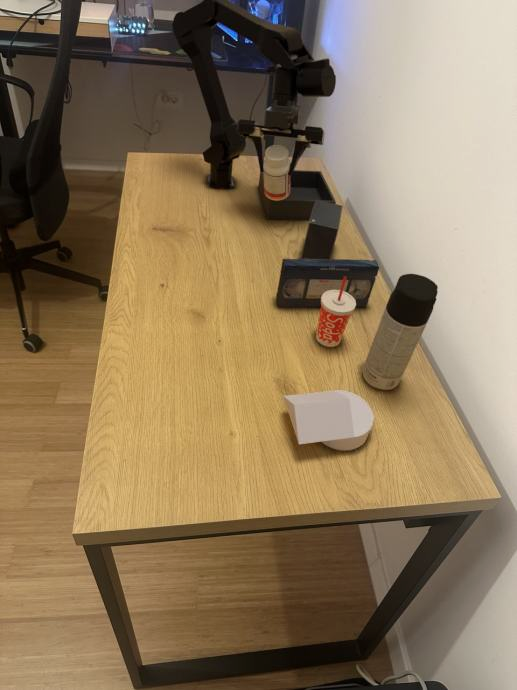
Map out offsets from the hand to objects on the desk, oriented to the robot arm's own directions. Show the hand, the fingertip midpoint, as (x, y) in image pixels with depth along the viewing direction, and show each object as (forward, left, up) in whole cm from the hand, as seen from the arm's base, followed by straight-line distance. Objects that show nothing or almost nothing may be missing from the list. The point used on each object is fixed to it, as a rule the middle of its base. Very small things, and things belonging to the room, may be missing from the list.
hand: (275, 173), depth 111 cm
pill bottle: (-3, +2, -6) cm, 7 cm away
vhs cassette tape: (+30, +6, -13) cm, 33 cm away
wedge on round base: (+60, 0, -13) cm, 61 cm away
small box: (+13, +9, -13) cm, 20 cm away
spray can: (+50, +12, -13) cm, 53 cm away
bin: (-10, +8, -13) cm, 18 cm away
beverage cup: (+40, +5, -13) cm, 42 cm away
